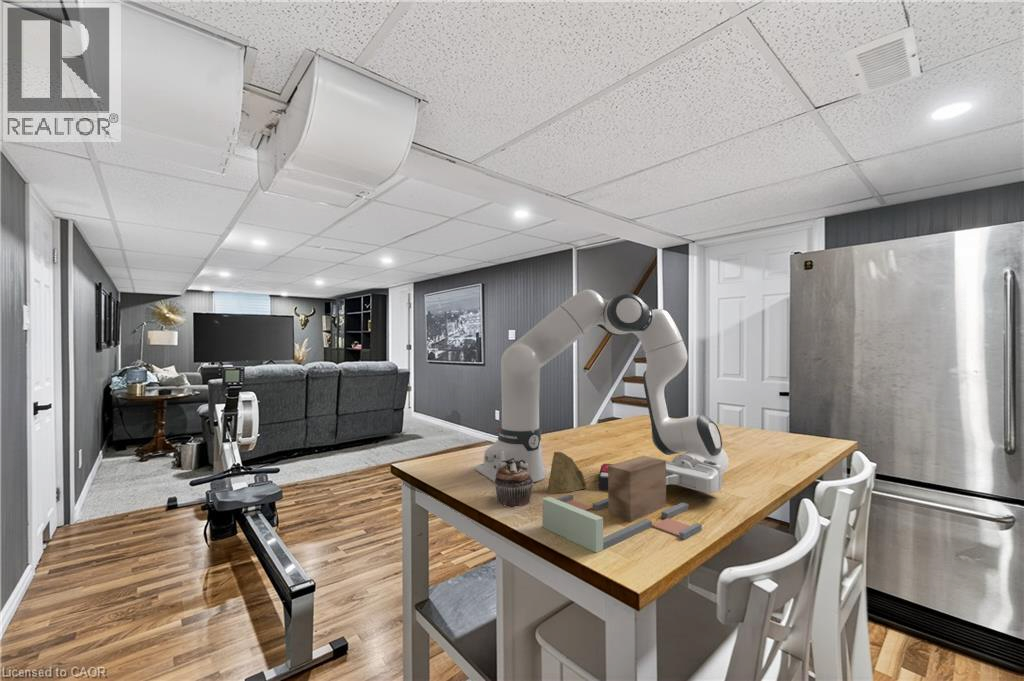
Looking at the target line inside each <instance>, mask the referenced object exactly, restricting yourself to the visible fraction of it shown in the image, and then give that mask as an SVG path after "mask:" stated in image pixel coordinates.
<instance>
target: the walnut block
mask: <svg viewBox="0 0 1024 681" xmlns="http://www.w3.org/2000/svg"><path fill="white" fill-rule="evenodd" d="M666 461H667V460H666V459H661V458H656V457H652V456H648V455H642V456H638V457H634V458H630V459H627V460H623V461H620V462H617V463H614V464H613V463H612V464H613V465H609V466H608V491H607V492H608V496H607V497H608V507H607V508H608V515H610V516H613V517H615V518H618V519H621V520H624V521H626V522H629V523H632V522H634V521H638V520H639V519H642V518H644V517H646V516H648V514H649V515H651V514H653V513H655V512H657V510H658V511H660V510H662V509H664V508H663V507H665V506H666V507H667V485H666ZM666 507H665V508H666ZM661 508H662V509H661ZM659 509H660V510H659Z"/></svg>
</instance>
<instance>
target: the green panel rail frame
mask: <svg viewBox="0 0 1024 681" xmlns="http://www.w3.org/2000/svg"><path fill="white" fill-rule="evenodd" d="M541 501H542V528H544V529H546V530H548V531H550V532H552V533H554V534H556V535H558V536H560V537H562V538H564V539H567V540H569V541H570V542H573V543H575V544H577V545H578V546H581V547H583V548H584V549H587V550H589V551H591V552H594V553H595V554H596V553H599V552H601V551H603V550H605V549H609V548H610V547H612V546H614V545H616V544H618V543H620V542H622V541H625V540H626V539H629V538H630V537H633V536H635V535H637V534H640V533H642V532H643V531H645V530H648V529H650V528H654V529H657V530H660V531H663V532H665V533H668V534H670V535H673V536H676V537H678V538H679V539H680V540H683V539H685V540H686V539H688V538H690V537H691V536H693V535H696V534H697V533H699V532H701V531H702V530H703V527H702V526H703V525H702V523H699V522H696V523H694V524H691V525H689V524H687V523H683V522H681V521H678V520H675V519H672V518H674V517H675V515H676V516H678V515H680V514H682V513H684V512H685V511H688V510H690V509H689V507H690V505H689V503H687V502H684V501H683V502H680V503H678V504H676V505H673V506H671V507H668V508H666V509H665V510H662V511H661V512H660V516H661V518H662V519H663V520H660V521H658V522H656V523H653V521H652V520H650V519H648V518H644V519H642V520H640V521H638V522H637V521H636V522H635V523H633V524H631V525H628V526H627V527H624V528H621V529H619V530H617V531H615V532H613V533H610V534H608V535H606V536H604V516H603V517H602V516H600V515H597V514H596V513H593V512H590V510H595V511H600V510H603V509H605V508H608V498H604V499H601V500H599V501H595V502H593V503H592V506H590V505H587V504H585V503H581V502H579V501H576V500H574V495H573V494H569V495H564V496H562V497H559V498H554V497H551V496H546V497H543V498H542V500H541ZM683 511H684V512H683ZM681 512H682V513H681ZM679 513H680V514H679ZM677 514H678V515H677ZM665 518H666V519H665Z"/></svg>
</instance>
